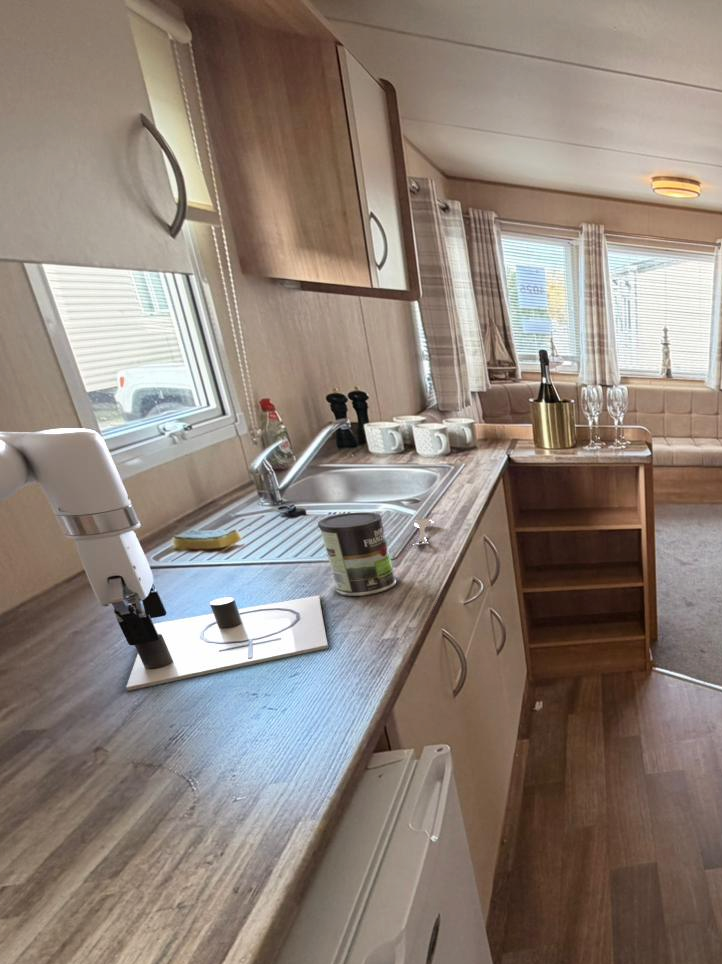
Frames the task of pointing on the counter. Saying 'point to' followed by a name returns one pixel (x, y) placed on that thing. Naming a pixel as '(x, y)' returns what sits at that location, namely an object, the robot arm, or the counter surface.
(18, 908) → the counter surface
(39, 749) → the counter surface
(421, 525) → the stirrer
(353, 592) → the coffee can
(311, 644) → the board
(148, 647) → the dot
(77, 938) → the counter surface
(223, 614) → the dot
